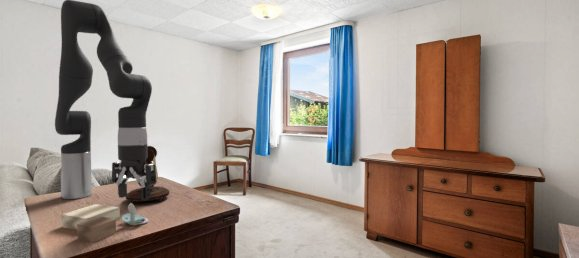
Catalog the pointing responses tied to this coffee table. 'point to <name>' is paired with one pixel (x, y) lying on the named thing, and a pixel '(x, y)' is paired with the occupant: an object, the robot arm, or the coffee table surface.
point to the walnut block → (96, 229)
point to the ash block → (89, 215)
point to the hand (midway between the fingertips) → (134, 198)
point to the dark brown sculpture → (154, 190)
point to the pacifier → (133, 216)
